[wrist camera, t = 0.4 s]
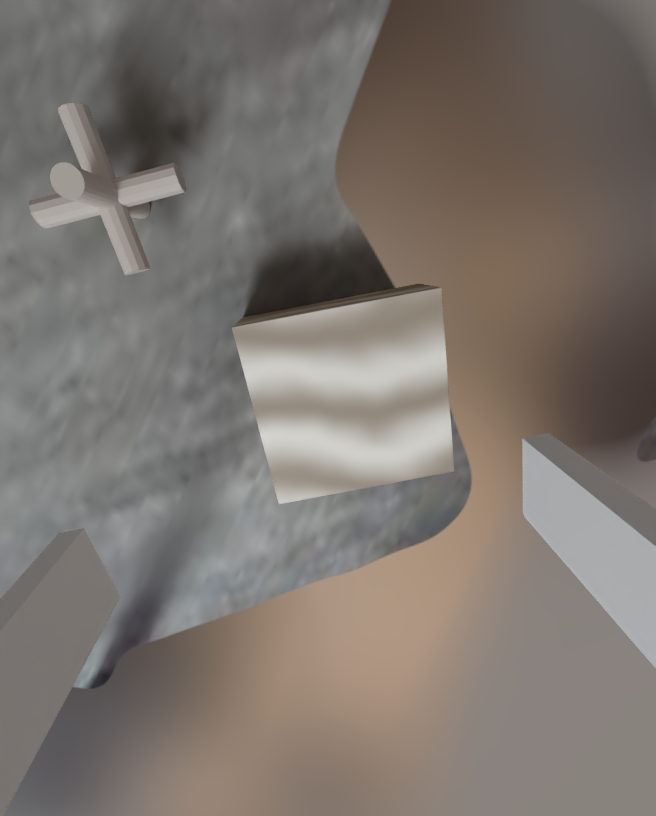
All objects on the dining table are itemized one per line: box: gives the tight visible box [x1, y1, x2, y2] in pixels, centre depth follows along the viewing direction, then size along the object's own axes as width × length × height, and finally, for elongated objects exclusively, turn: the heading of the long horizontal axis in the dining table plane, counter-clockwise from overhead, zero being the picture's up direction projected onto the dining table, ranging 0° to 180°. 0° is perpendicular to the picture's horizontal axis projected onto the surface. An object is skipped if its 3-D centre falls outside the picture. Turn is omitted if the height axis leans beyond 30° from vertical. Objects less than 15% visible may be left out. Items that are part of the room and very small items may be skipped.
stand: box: [232, 284, 454, 504], centre depth 34 cm, size 16×16×6 cm
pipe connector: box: [29, 103, 186, 275], centre depth 26 cm, size 10×10×10 cm
